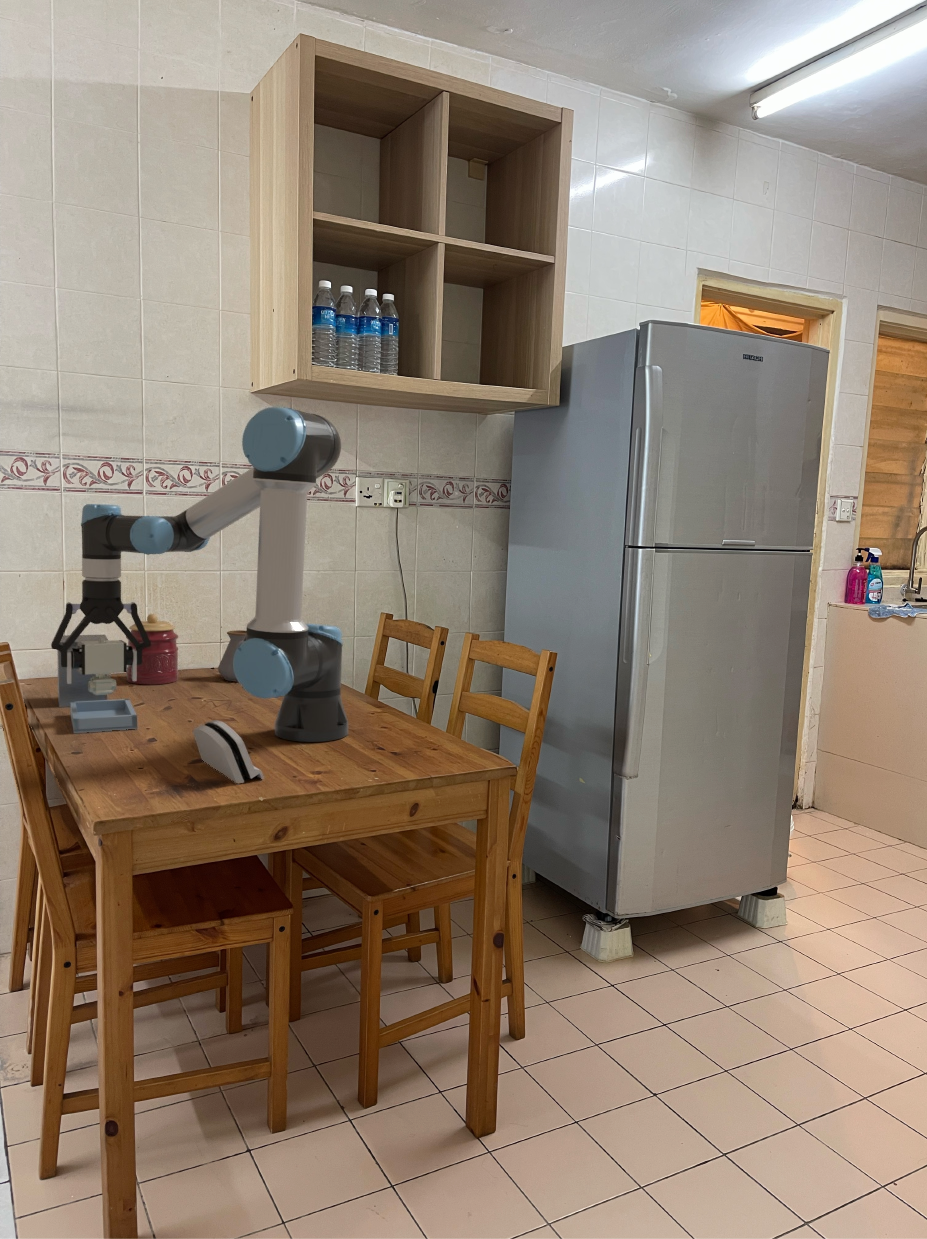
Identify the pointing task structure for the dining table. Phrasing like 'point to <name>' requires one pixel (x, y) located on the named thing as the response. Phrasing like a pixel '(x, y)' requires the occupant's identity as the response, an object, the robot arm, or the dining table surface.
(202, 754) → the grey curved fin
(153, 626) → the canister
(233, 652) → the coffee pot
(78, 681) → the box
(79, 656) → the pneumatic valve
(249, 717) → the dining table surface
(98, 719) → the tray
